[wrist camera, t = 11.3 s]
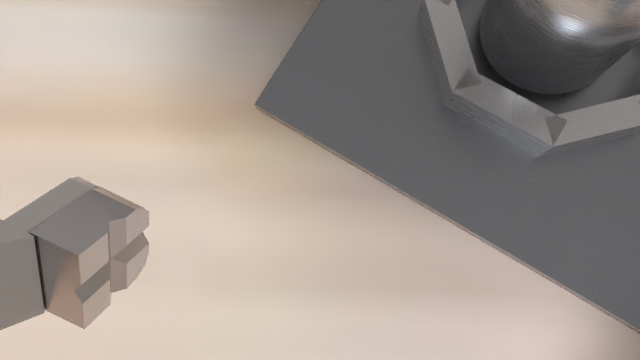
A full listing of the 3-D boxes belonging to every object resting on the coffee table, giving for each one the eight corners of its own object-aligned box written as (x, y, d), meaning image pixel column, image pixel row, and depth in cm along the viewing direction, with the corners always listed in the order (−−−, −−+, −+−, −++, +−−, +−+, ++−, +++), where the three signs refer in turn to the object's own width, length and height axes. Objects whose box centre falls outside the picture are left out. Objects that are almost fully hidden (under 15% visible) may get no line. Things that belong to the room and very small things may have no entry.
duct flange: (257, 108, 21) (245, 89, 19) (462, -208, 23) (473, -259, 21) (647, 337, 19) (684, 345, 16) (844, -39, 20) (901, -77, 18)
